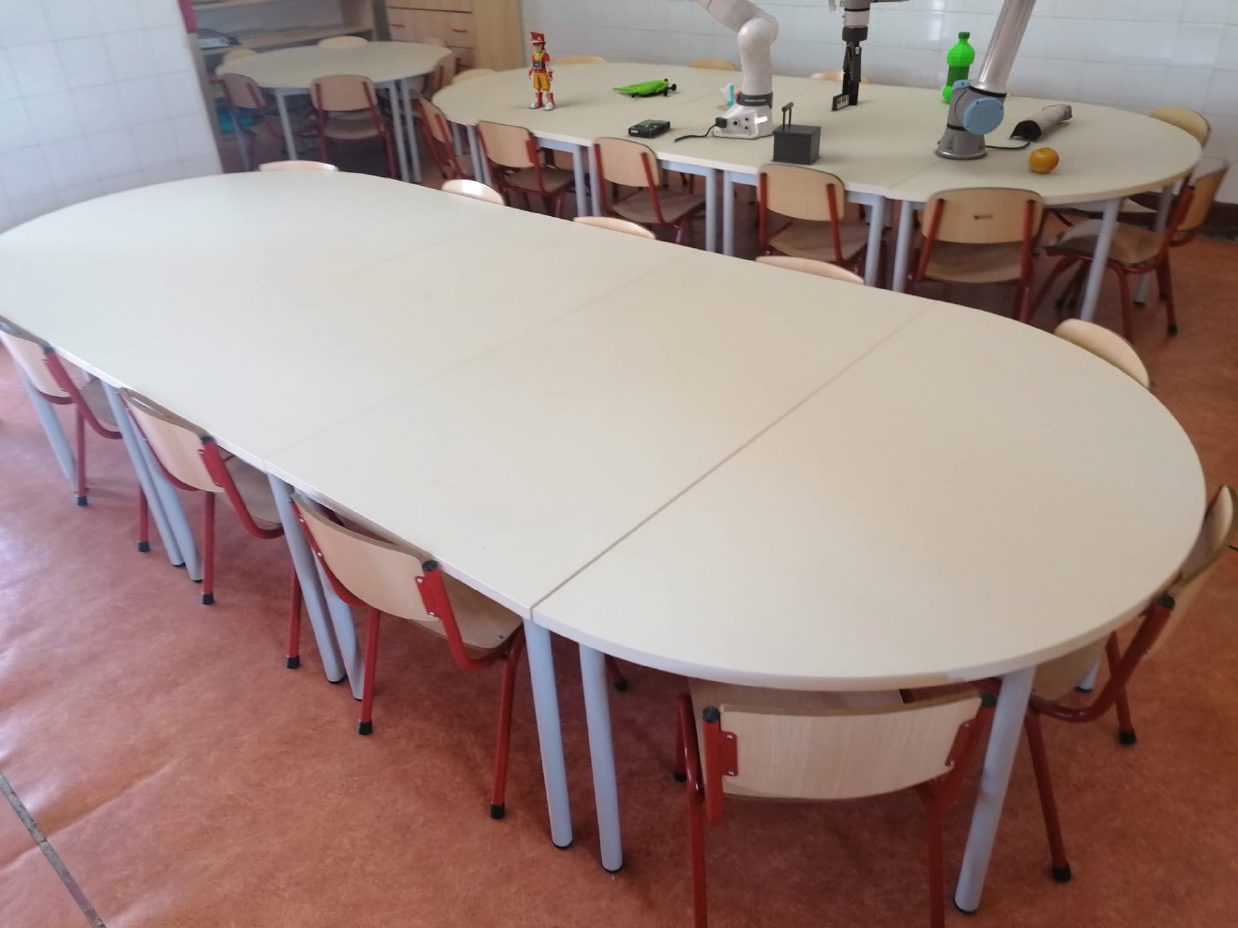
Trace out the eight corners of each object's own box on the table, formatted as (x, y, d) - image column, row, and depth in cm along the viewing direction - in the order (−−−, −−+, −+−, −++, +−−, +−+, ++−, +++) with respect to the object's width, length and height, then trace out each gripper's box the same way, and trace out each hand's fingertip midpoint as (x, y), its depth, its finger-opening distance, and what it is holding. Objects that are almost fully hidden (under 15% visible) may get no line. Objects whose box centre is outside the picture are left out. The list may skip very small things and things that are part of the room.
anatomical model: (716, 82, 367) (740, 75, 367) (721, 107, 373) (744, 101, 372) (722, 90, 355) (747, 83, 354) (727, 117, 361) (751, 110, 360)
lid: (772, 133, 299) (773, 107, 294) (782, 126, 306) (783, 100, 301) (811, 137, 293) (813, 110, 288) (820, 129, 300) (822, 103, 295)
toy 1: (525, 109, 381) (517, 32, 364) (534, 104, 388) (527, 28, 371) (550, 110, 377) (543, 32, 360) (559, 105, 384) (553, 28, 367)
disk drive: (651, 138, 334) (670, 128, 344) (651, 131, 332) (670, 120, 342) (627, 136, 339) (647, 125, 349) (627, 128, 337) (647, 118, 347)
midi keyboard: (834, 110, 353) (835, 97, 350) (831, 110, 354) (832, 97, 351) (857, 101, 364) (858, 88, 361) (854, 101, 364) (855, 88, 361)
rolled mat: (1039, 109, 327) (1064, 92, 319) (1053, 130, 328) (1078, 113, 320) (1005, 132, 310) (1030, 114, 302) (1020, 154, 310) (1045, 137, 302)
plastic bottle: (973, 101, 354) (984, 32, 339) (955, 106, 349) (966, 36, 335) (952, 97, 361) (962, 29, 346) (934, 102, 356) (944, 33, 342)
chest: (772, 161, 304) (774, 134, 298) (782, 153, 310) (784, 126, 305) (809, 164, 298) (811, 137, 293) (818, 156, 305) (820, 129, 300)
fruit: (1023, 163, 276) (1041, 139, 273) (1022, 165, 284) (1039, 142, 281) (1047, 178, 275) (1065, 155, 272) (1044, 180, 283) (1062, 157, 280)
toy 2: (686, 85, 398) (631, 84, 414) (685, 72, 395) (629, 72, 411) (651, 104, 381) (596, 103, 397) (650, 92, 378) (594, 91, 394)
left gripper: (843, -42, 299) (839, 4, 307) (820, -35, 285) (816, 13, 293) (862, -42, 296) (857, 4, 304) (839, -34, 282) (835, 14, 290)
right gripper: (837, 19, 279) (831, 91, 291) (849, 34, 259) (842, 110, 271) (861, 18, 278) (855, 90, 291) (875, 32, 258) (868, 109, 270)
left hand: (837, 9), depth 298 cm, fingers open, 8 cm apart
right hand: (849, 100), depth 281 cm, fingers open, 13 cm apart
